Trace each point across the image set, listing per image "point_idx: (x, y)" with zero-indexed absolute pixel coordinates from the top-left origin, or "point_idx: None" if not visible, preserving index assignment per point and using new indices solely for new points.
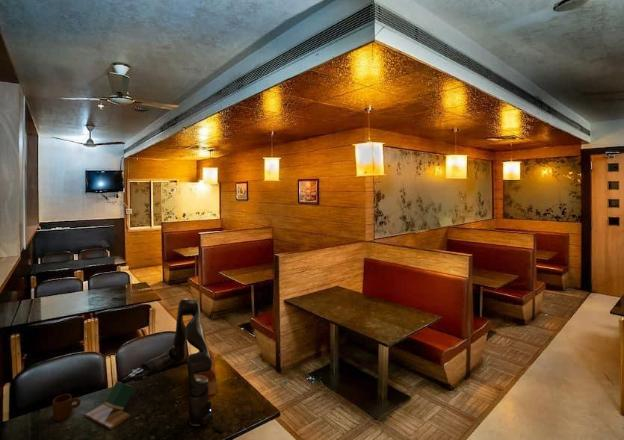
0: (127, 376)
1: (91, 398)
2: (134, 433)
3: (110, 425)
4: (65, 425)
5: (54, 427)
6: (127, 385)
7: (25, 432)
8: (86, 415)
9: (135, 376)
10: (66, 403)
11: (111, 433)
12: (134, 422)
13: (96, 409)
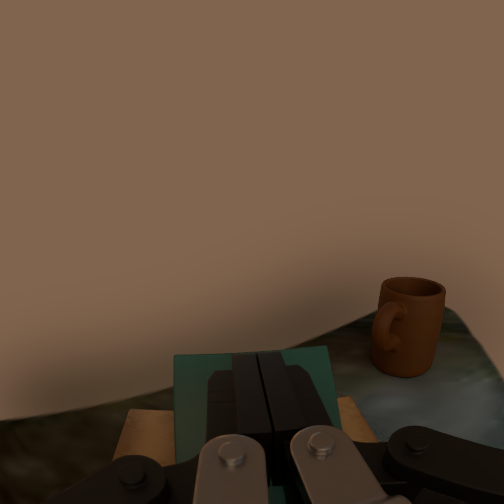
0: (300, 411)
1: (495, 429)
2: (16, 422)
3: (142, 414)
4: (333, 360)
5: (347, 345)
6: (174, 426)
7: (374, 316)
8: (337, 400)
9: (112, 472)
10: (383, 302)
11: (109, 406)
12: (53, 470)
13: (353, 430)
